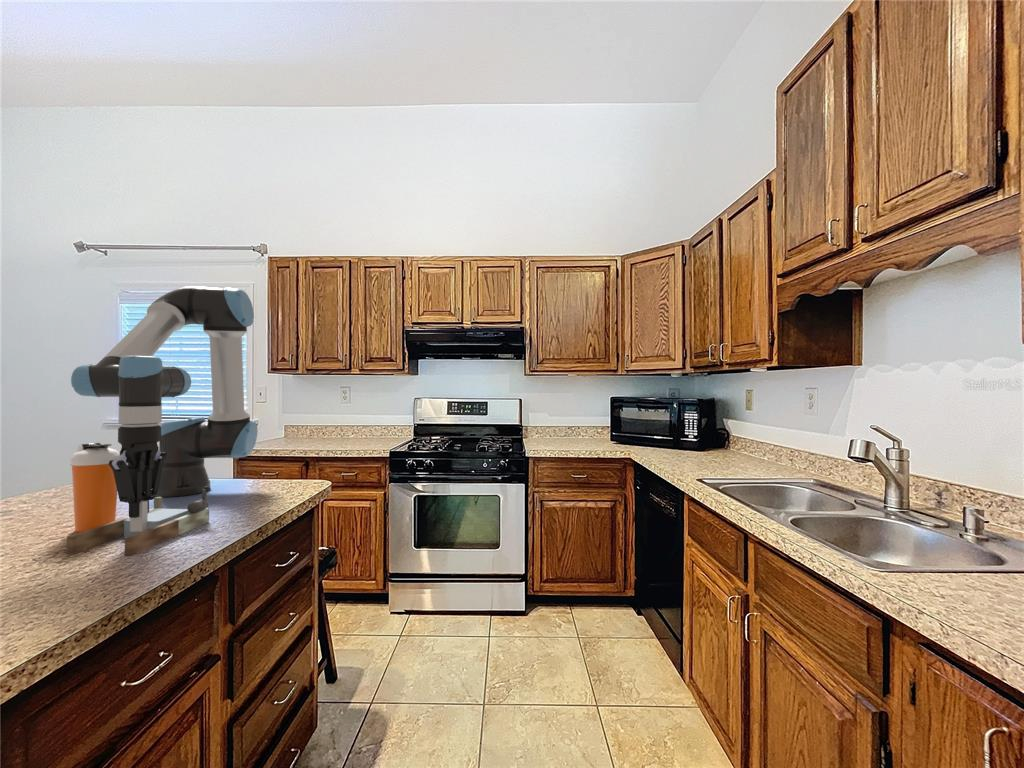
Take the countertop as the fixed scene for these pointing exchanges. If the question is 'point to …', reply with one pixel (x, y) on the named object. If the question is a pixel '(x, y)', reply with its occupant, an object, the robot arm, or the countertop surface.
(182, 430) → the robot arm
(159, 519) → the pale blue flat block
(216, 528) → the countertop surface
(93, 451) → the shaker bottle
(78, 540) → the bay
